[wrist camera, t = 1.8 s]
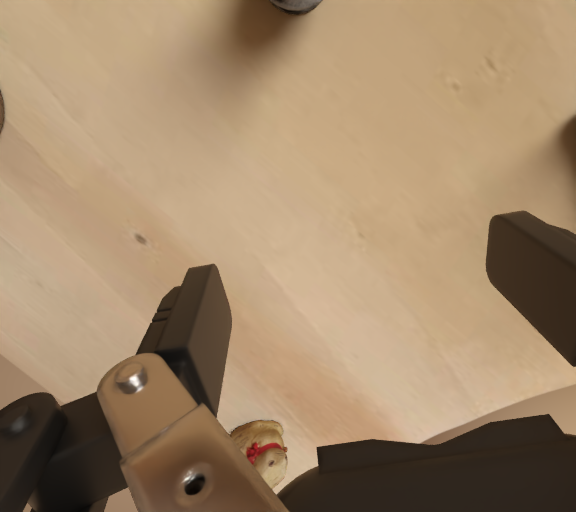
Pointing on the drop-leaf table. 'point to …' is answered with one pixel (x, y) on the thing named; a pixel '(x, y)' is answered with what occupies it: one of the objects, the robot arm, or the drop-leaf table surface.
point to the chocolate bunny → (263, 449)
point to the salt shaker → (295, 5)
